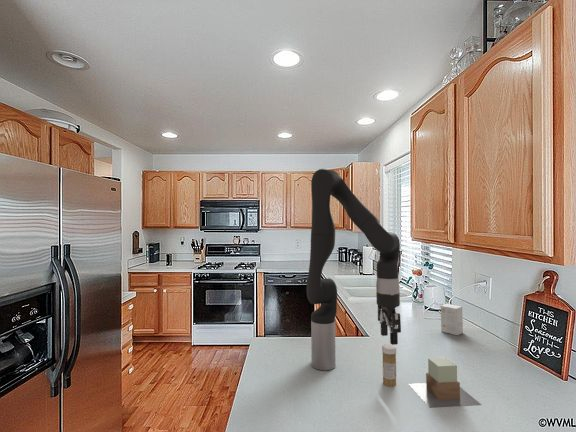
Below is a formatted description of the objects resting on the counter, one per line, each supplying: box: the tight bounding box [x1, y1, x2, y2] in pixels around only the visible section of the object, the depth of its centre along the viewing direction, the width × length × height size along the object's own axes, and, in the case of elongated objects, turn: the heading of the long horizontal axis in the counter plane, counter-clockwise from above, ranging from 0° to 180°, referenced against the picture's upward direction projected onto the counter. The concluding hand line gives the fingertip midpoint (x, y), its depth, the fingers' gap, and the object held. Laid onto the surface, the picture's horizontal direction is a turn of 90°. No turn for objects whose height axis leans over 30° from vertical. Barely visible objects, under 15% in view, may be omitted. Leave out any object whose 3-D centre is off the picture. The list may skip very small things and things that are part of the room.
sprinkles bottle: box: [381, 343, 397, 388], centre depth 110 cm, size 5×5×13 cm
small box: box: [440, 303, 464, 336], centre depth 163 cm, size 8×6×13 cm
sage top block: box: [427, 357, 458, 383], centre depth 103 cm, size 6×6×5 cm
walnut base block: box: [425, 372, 461, 400], centre depth 103 cm, size 7×7×5 cm
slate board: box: [408, 382, 482, 409], centre depth 103 cm, size 14×16×1 cm
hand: (388, 339), depth 109 cm, fingers open, 8 cm apart
